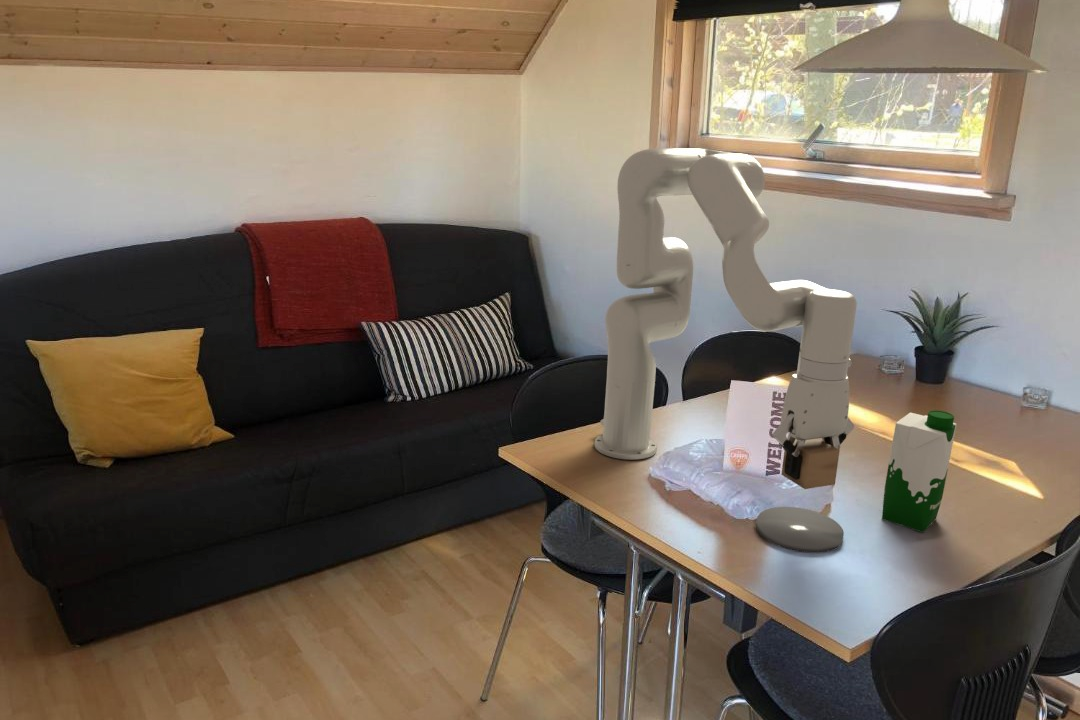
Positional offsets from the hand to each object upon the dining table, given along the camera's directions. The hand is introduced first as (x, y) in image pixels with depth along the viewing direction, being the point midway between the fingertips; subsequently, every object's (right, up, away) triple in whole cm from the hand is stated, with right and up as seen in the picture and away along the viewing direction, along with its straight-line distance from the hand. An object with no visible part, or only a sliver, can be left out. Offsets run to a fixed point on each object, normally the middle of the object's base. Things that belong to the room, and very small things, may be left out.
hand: (808, 472), depth 146 cm
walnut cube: (0, -1, 0) cm, 1 cm away
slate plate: (-1, -10, +3) cm, 11 cm away
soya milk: (+20, -9, +10) cm, 25 cm away
